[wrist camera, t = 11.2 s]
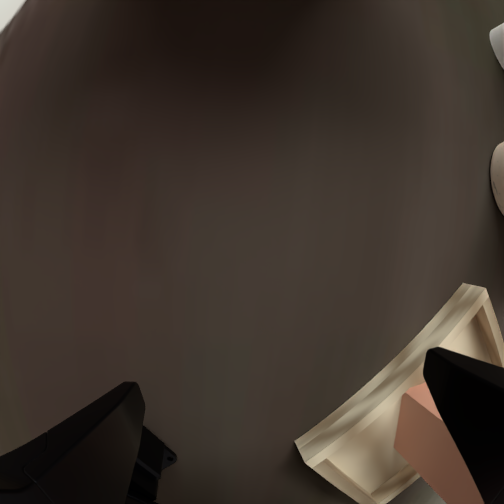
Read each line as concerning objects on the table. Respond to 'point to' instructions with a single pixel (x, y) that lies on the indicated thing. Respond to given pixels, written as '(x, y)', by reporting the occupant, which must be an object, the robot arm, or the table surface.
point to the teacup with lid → (498, 175)
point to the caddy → (433, 448)
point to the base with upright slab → (498, 43)
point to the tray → (396, 403)
